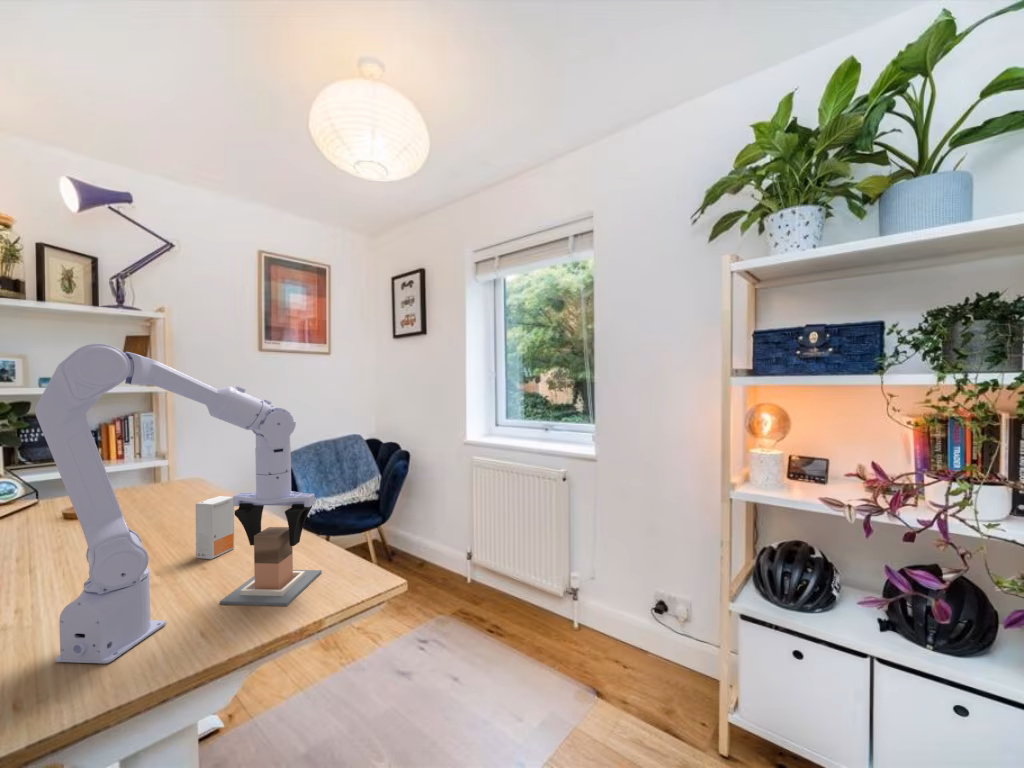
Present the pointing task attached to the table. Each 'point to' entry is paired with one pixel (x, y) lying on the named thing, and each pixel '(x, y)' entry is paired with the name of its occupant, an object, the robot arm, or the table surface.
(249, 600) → the board
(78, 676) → the table surface
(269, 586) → the terracotta block
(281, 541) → the walnut block
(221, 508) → the skincare box
